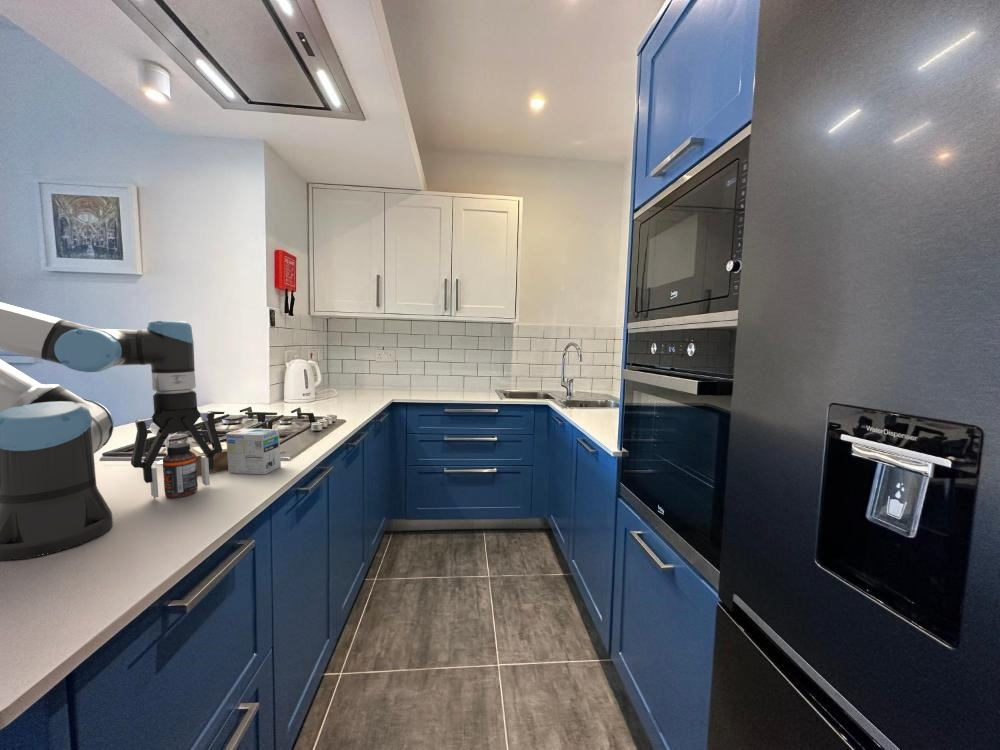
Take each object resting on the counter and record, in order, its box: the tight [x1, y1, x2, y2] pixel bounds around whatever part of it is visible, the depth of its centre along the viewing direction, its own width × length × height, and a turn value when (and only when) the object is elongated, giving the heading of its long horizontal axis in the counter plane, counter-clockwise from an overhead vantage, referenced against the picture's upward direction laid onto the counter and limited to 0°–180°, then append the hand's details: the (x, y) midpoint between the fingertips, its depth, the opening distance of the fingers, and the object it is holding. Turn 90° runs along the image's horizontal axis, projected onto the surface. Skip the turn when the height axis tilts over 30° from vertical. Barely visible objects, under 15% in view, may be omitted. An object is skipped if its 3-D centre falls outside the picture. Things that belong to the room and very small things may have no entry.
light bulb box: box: [225, 427, 282, 475], centre depth 108 cm, size 11×7×11 cm, turn 84°
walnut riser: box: [189, 441, 228, 476], centre depth 111 cm, size 11×11×5 cm
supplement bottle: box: [162, 442, 199, 499], centre depth 92 cm, size 6×6×11 cm
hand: (181, 489), depth 92 cm, fingers open, 9 cm apart
